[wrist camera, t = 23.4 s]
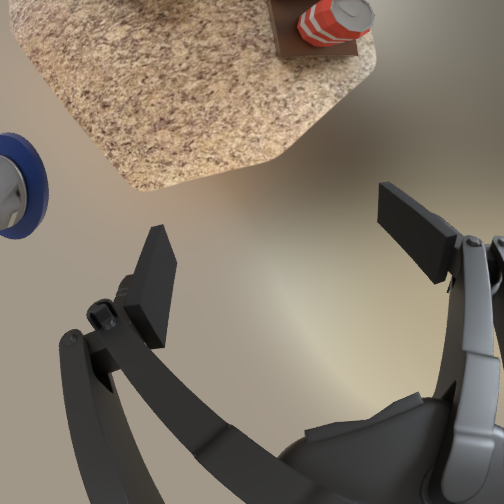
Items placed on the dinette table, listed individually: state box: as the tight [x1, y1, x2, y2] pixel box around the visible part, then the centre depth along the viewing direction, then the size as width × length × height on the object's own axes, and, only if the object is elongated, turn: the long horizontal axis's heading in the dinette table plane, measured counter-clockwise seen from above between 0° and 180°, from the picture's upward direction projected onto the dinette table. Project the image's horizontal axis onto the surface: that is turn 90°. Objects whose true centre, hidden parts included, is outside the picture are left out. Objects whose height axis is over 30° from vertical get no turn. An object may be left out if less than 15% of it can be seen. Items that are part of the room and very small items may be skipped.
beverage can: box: [297, 0, 375, 47], centre depth 24 cm, size 6×6×12 cm
